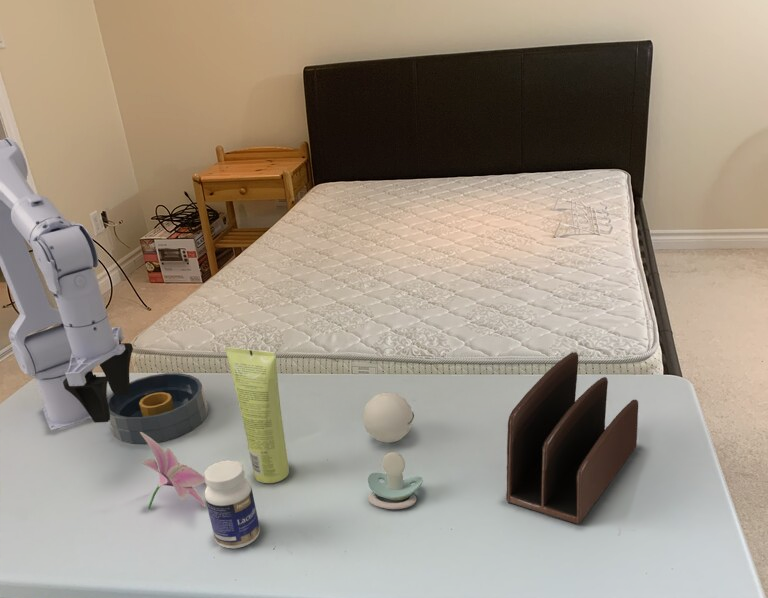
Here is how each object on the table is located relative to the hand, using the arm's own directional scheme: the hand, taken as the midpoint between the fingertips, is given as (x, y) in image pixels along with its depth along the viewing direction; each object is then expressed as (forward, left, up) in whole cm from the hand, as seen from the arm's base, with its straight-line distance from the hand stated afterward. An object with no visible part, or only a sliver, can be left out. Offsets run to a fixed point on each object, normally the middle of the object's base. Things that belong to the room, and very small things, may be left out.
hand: (112, 407), depth 108 cm
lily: (+14, +4, -10) cm, 18 cm away
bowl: (-10, +8, -10) cm, 16 cm away
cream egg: (+17, +36, -10) cm, 41 cm away
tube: (+16, +17, -10) cm, 25 cm away
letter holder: (+41, +50, -10) cm, 65 cm away
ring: (-10, +8, -9) cm, 16 cm away
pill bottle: (+26, +8, -10) cm, 29 cm away
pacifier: (+31, +28, -10) cm, 43 cm away
